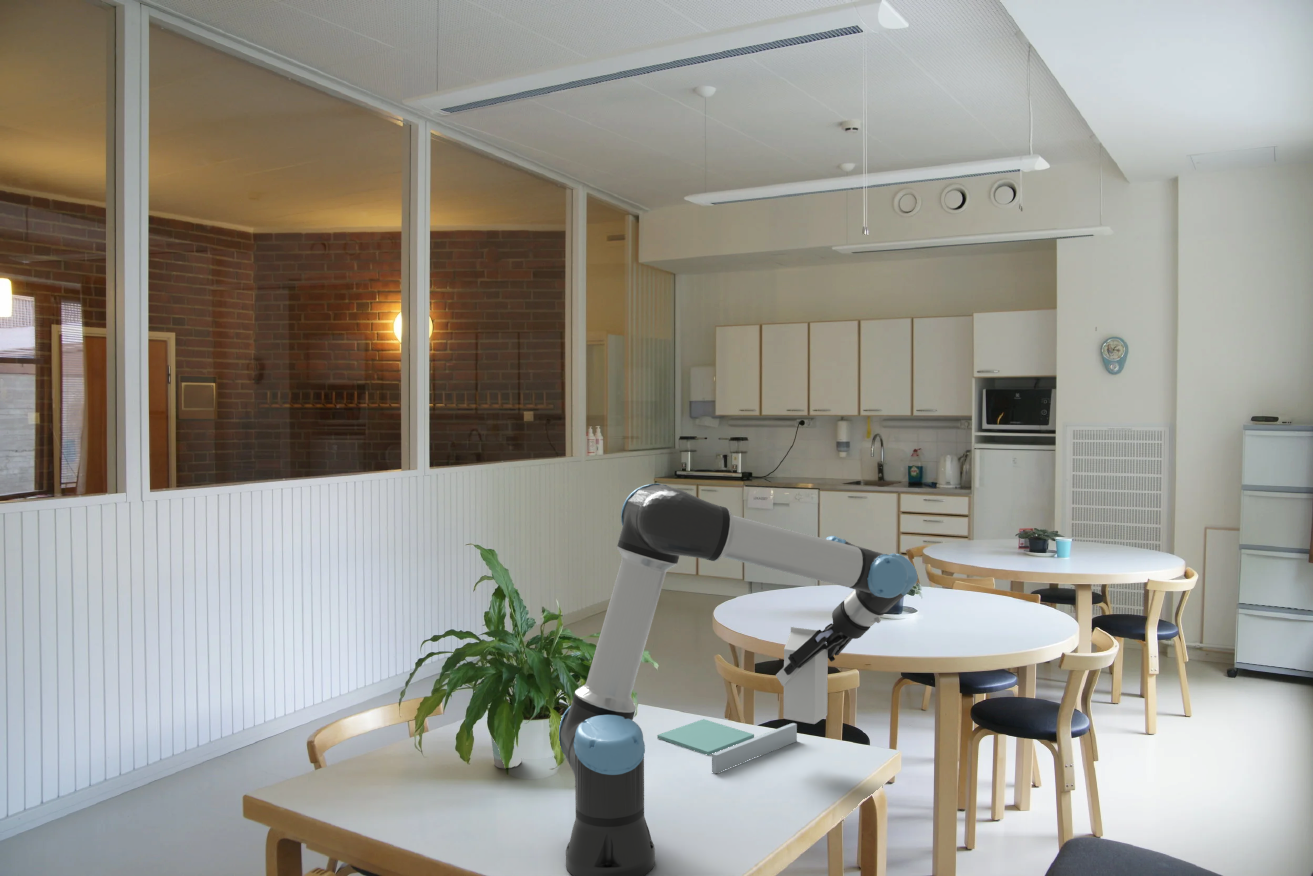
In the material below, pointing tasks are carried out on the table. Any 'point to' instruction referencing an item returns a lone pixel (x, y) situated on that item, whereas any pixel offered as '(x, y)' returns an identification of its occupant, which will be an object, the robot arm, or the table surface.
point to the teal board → (705, 736)
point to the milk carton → (806, 682)
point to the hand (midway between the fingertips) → (793, 676)
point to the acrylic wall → (754, 747)
